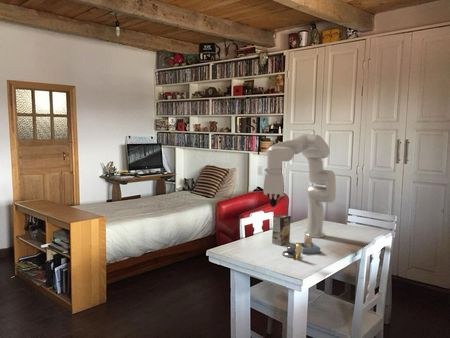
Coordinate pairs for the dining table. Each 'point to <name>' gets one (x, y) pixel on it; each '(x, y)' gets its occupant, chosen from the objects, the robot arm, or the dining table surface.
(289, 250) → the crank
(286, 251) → the crank base
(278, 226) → the coffee box
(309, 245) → the stop peg
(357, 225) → the dining table surface
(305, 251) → the tray
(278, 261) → the dining table surface
